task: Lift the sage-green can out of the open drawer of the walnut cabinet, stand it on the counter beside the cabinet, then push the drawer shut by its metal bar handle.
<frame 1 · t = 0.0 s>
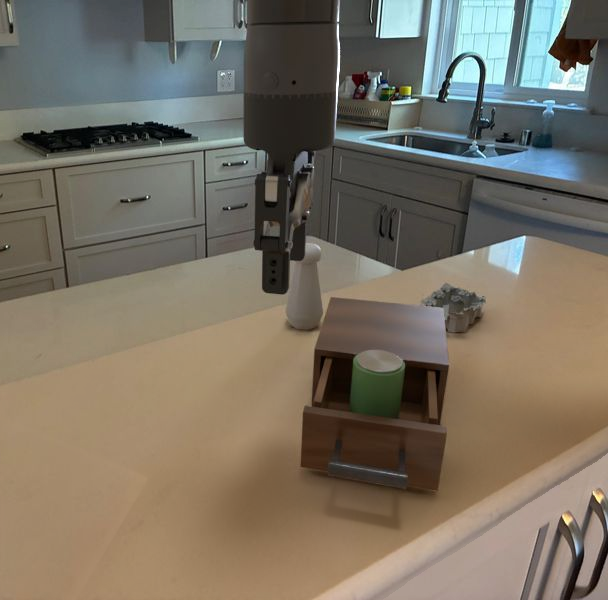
hand: (284, 274, 56), 22 cm above the worktop, tool pointing down, fingers open, 8 cm apart
drawer: (372, 423, 64), point 4 cm above the worktop, slide at 10.5 cm, touching can
salt shaker: (303, 325, 96), on the worktop
can: (372, 430, 67), point 2 cm above the worktop, touching drawer
cabinet: (377, 387, 79), on the worktop
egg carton: (450, 319, 97), on the worktop
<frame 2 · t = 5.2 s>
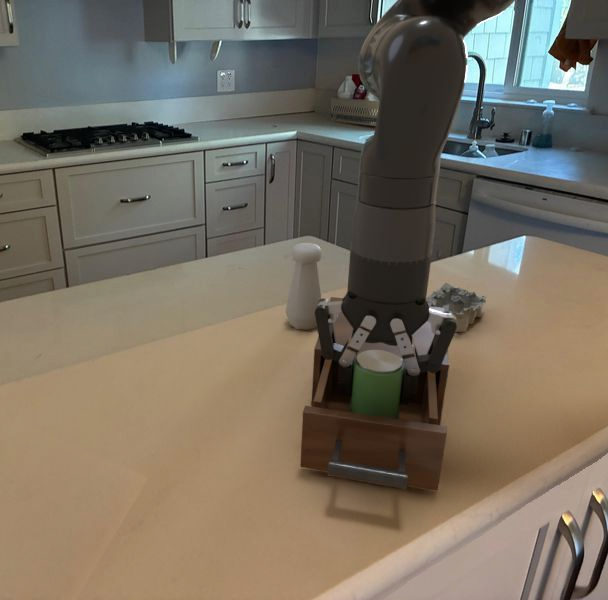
hand: (375, 396, 65), 6 cm above the worktop, tool pointing down, fingers closed on can, 5 cm apart
can: (372, 430, 67), point 2 cm above the worktop, touching drawer, gripper
everything else where it was.
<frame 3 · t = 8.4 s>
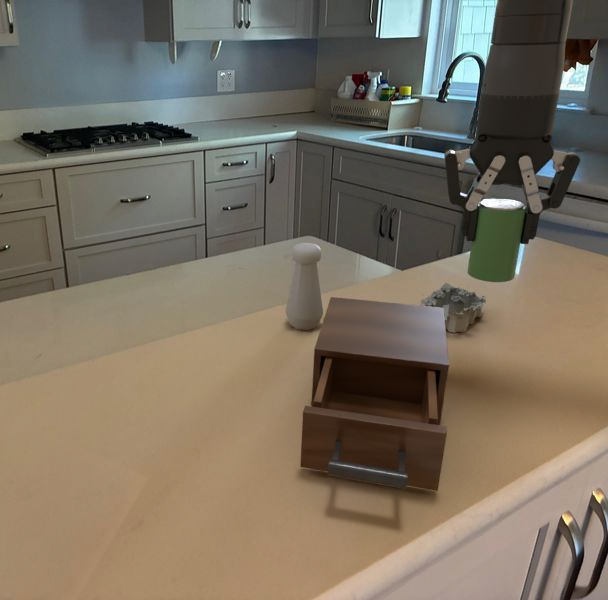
hand: (496, 240, 72), 19 cm above the worktop, tool pointing down, fingers closed on can, 5 cm apart
drawer: (372, 423, 64), point 4 cm above the worktop, slide at 10.5 cm
can: (490, 274, 74), point 15 cm above the worktop, touching gripper
everything else where it was.
when the fingers open (4 cm above the worktop, at t = 12.1 s): can stays where it is, on the worktop.
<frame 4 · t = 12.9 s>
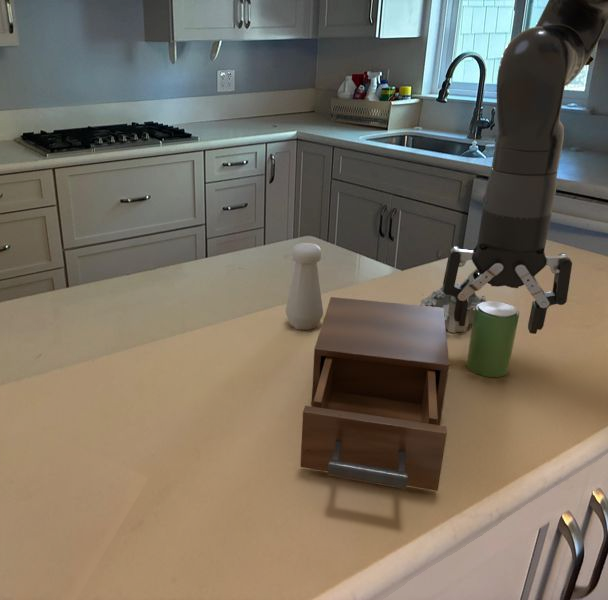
hand: (496, 327, 81), 6 cm above the worktop, tool pointing down, fingers open, 8 cm apart
can: (486, 367, 83), on the worktop
everything else where it was.
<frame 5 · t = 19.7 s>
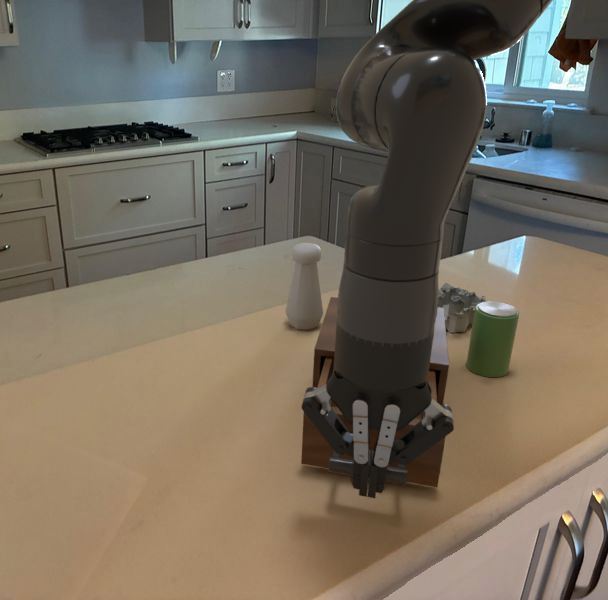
hand: (367, 490, 56), 4 cm above the worktop, tool pointing down, fingers closed
drawer: (373, 420, 65), point 4 cm above the worktop, slide at 9.9 cm, touching gripper
everything else where it was.
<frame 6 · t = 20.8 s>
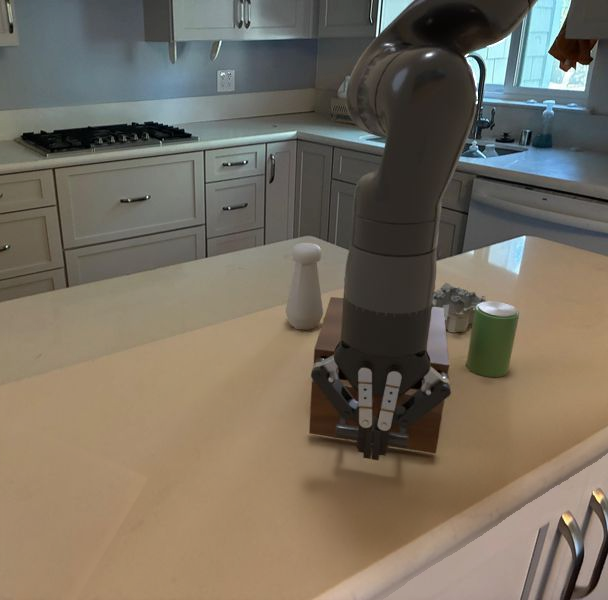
hand: (371, 454, 60), 4 cm above the worktop, tool pointing down, fingers closed
drawer: (376, 393, 70), point 4 cm above the worktop, slide at 4.5 cm, touching gripper
everything else where it was.
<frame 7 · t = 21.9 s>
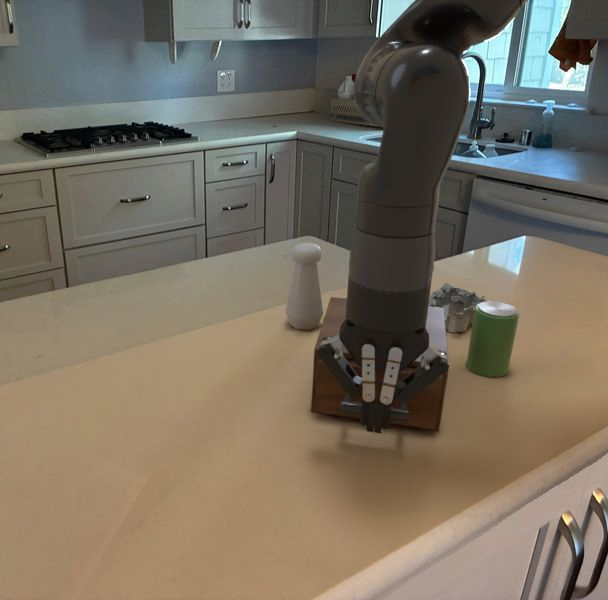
hand: (374, 427, 64), 4 cm above the worktop, tool pointing down, fingers closed
drawer: (378, 373, 74), point 4 cm above the worktop, slide at 0.0 cm, touching cabinet, gripper
everything else where it was.
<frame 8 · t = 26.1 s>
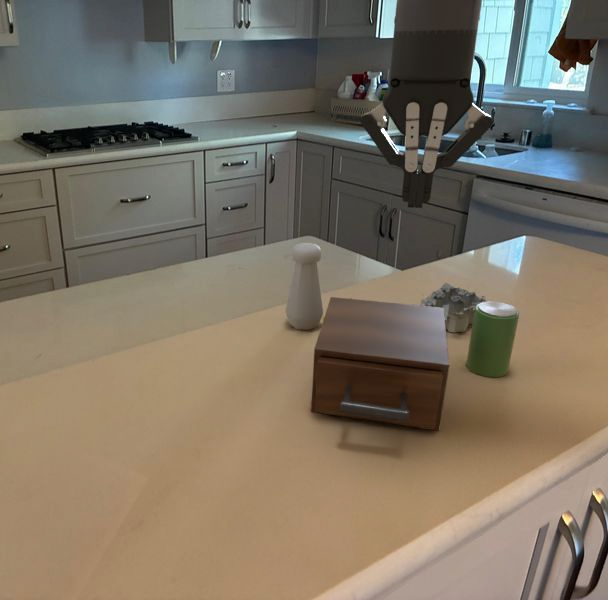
hand: (415, 205, 65), 25 cm above the worktop, tool pointing down, fingers closed
drawer: (378, 373, 74), point 4 cm above the worktop, slide at 0.0 cm, touching cabinet
everything else where it was.
at the end: can inside the target area (0.1 cm from its centre), on the worktop; can tilted 0°; drawer slide at 0.0 cm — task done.
